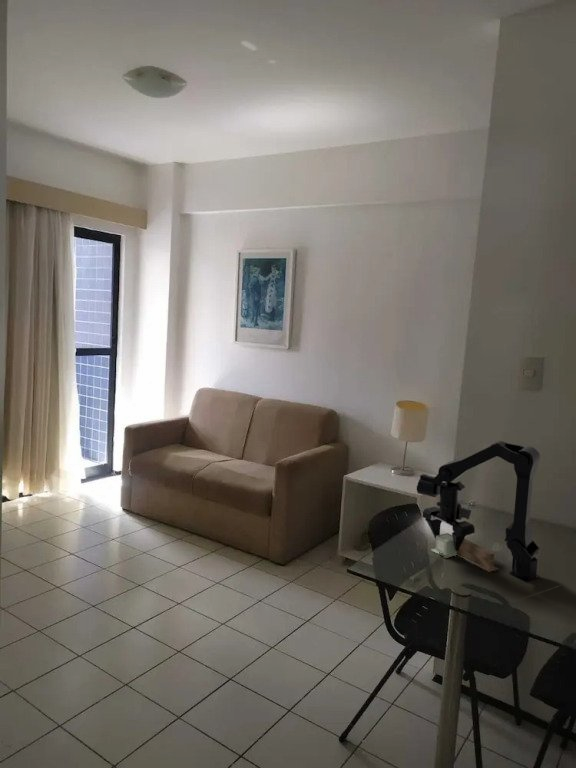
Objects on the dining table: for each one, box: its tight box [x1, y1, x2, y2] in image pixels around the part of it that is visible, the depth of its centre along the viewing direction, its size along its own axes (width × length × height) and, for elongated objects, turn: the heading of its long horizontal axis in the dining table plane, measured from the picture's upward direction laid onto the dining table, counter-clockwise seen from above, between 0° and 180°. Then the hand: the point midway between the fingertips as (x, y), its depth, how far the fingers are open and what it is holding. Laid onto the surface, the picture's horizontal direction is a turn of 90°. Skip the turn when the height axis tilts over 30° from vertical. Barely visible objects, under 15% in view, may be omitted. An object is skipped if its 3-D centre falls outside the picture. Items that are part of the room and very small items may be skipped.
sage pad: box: [431, 547, 456, 555], centre depth 191 cm, size 7×7×1 cm
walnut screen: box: [456, 538, 499, 572], centre depth 184 cm, size 14×4×6 cm, turn 28°
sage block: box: [435, 532, 457, 556], centre depth 191 cm, size 5×5×5 cm
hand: (446, 545), depth 191 cm, fingers open, 9 cm apart
